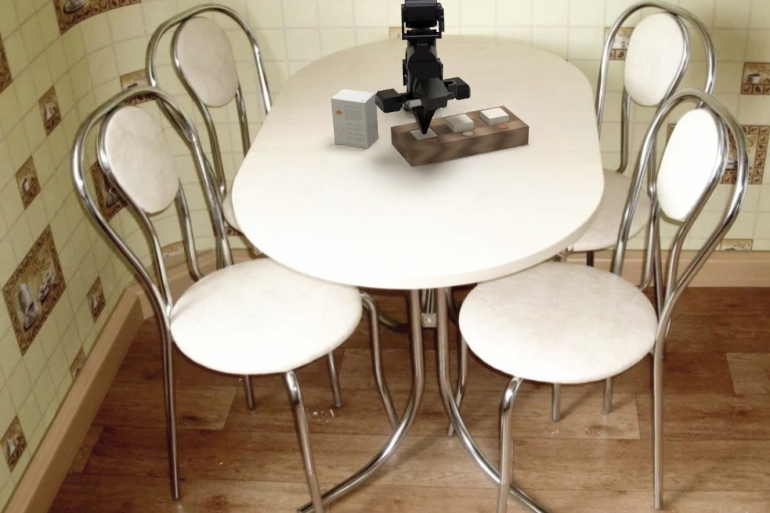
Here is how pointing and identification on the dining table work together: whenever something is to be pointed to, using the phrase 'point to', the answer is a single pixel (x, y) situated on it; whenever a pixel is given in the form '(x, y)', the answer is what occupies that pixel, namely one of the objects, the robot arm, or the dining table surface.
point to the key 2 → (494, 116)
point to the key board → (458, 139)
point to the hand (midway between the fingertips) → (423, 133)
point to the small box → (355, 118)
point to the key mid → (459, 123)
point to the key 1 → (419, 135)
